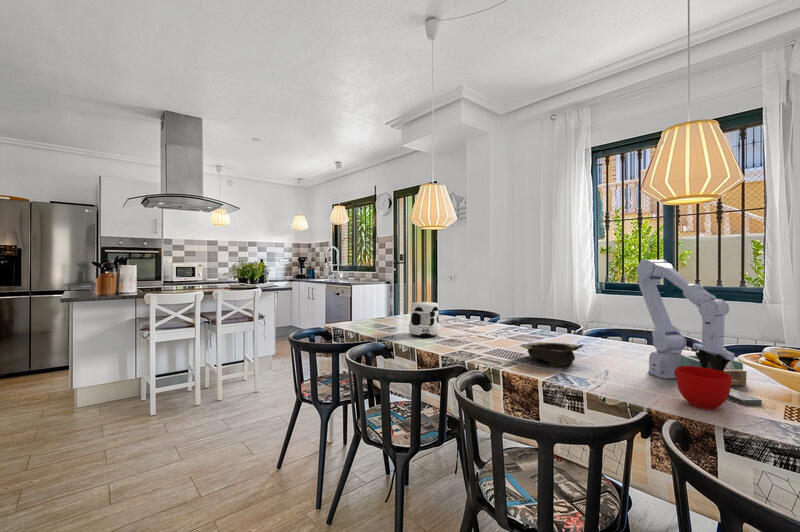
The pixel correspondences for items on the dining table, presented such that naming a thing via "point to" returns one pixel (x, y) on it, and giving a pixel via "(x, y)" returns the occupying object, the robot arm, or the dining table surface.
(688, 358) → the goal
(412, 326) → the milk container
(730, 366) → the die
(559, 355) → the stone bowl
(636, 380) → the dining table surface
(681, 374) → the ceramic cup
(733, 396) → the rail
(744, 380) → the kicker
